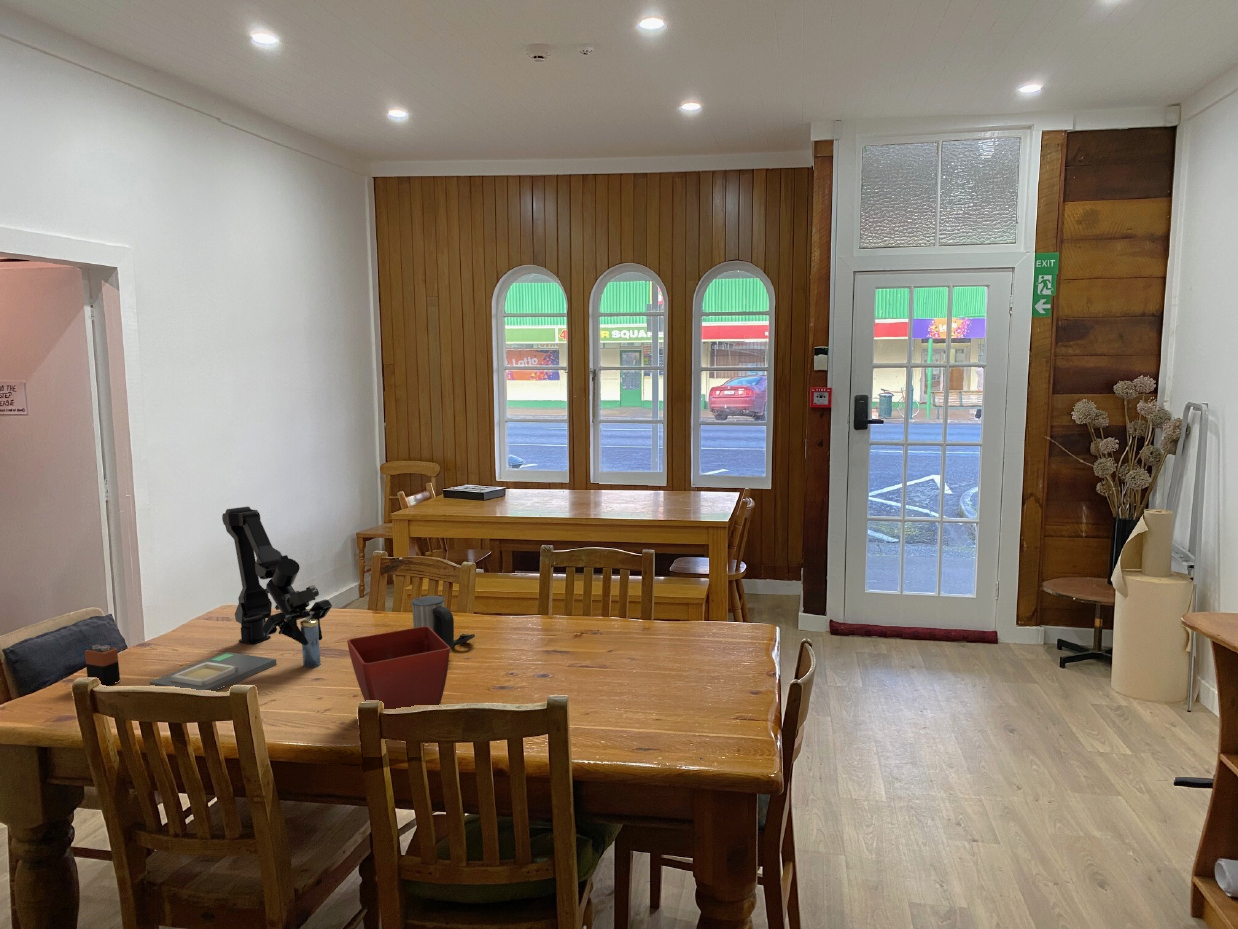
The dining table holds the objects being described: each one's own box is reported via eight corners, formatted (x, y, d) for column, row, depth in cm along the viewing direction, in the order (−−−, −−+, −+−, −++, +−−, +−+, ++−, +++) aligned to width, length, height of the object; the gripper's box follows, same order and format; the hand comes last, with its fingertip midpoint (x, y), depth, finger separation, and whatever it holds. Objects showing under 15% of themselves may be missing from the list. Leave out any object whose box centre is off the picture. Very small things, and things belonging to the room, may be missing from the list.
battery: (105, 688, 219) (101, 650, 218) (87, 685, 222) (83, 647, 221) (121, 682, 223) (117, 644, 222) (103, 679, 226) (99, 642, 225)
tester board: (226, 657, 241) (225, 647, 240) (276, 664, 234) (275, 654, 233) (149, 687, 219) (149, 677, 219) (202, 697, 212) (201, 686, 211)
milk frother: (406, 655, 239) (403, 602, 237) (439, 638, 253) (436, 588, 251) (451, 661, 233) (448, 607, 232) (481, 642, 248) (479, 592, 246)
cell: (311, 661, 236) (308, 618, 234) (324, 663, 234) (321, 619, 232) (299, 666, 232) (296, 623, 230) (312, 668, 230) (309, 624, 228)
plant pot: (367, 739, 186) (362, 663, 184) (350, 709, 202) (346, 638, 200) (454, 720, 194) (451, 647, 192) (431, 692, 211) (428, 625, 209)
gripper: (265, 586, 224) (296, 634, 220) (325, 570, 240) (355, 615, 235) (249, 611, 230) (278, 659, 225) (309, 594, 245) (337, 638, 240)
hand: (313, 642), depth 231 cm, fingers closed on cell, 4 cm apart
